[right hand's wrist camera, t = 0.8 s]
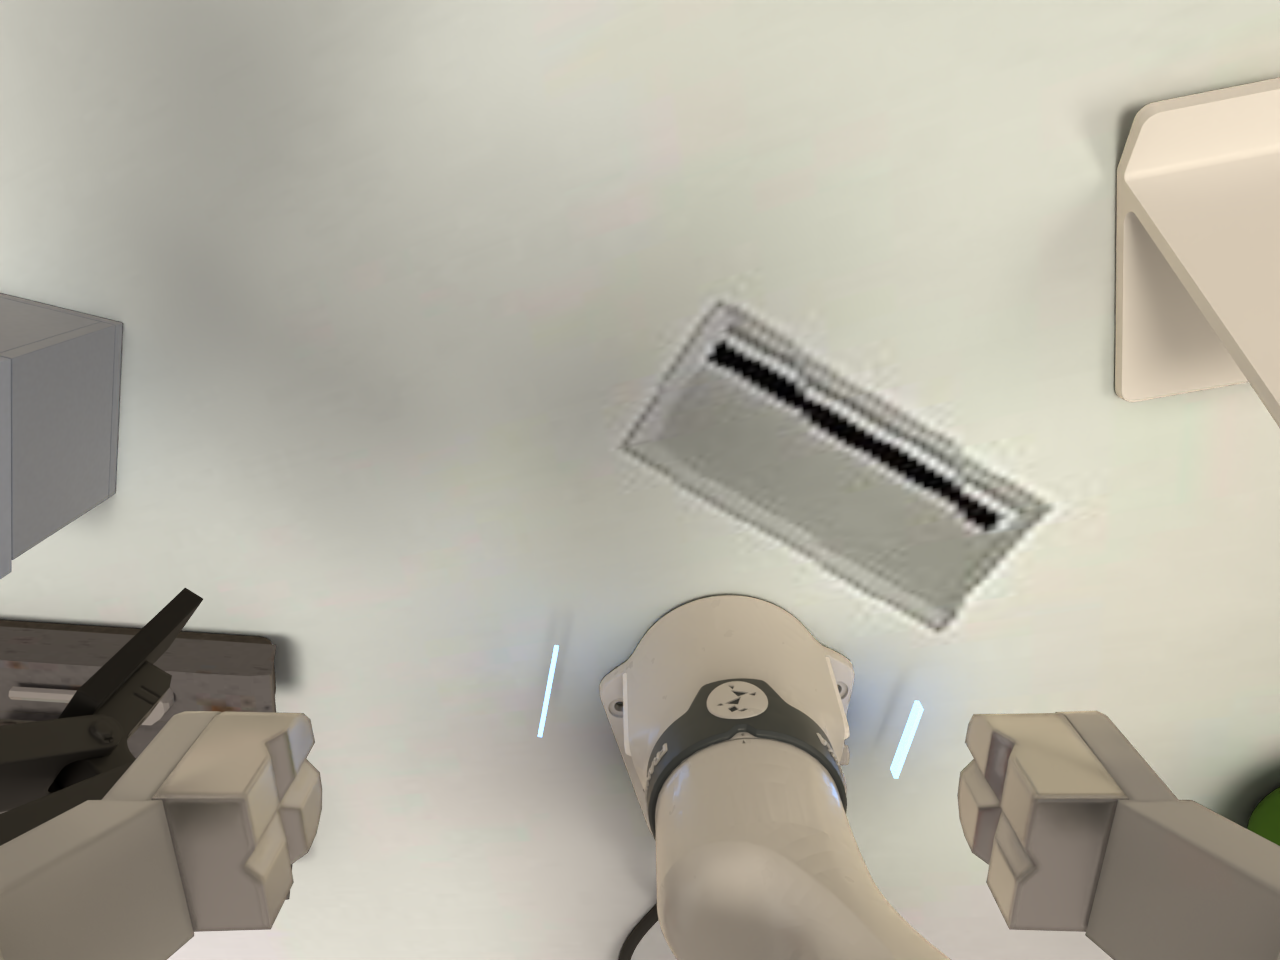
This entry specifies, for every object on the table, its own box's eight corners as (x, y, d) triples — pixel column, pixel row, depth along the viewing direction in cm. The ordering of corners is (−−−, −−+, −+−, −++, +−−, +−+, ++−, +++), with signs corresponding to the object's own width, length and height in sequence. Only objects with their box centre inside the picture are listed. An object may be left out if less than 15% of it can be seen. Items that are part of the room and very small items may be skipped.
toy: (298, 635, 63) (200, 773, 49) (313, 849, 70) (231, 1024, 56) (-56, 611, 62) (-260, 744, 48) (-5, 830, 69) (-169, 1002, 55)
